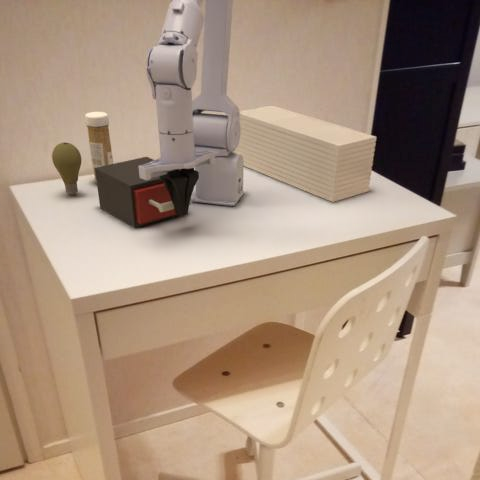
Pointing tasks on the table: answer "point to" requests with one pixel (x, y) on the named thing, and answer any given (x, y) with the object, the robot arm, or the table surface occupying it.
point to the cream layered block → (306, 152)
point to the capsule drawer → (153, 203)
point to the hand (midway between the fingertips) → (181, 213)
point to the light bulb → (67, 165)
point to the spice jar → (99, 139)
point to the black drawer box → (123, 189)
